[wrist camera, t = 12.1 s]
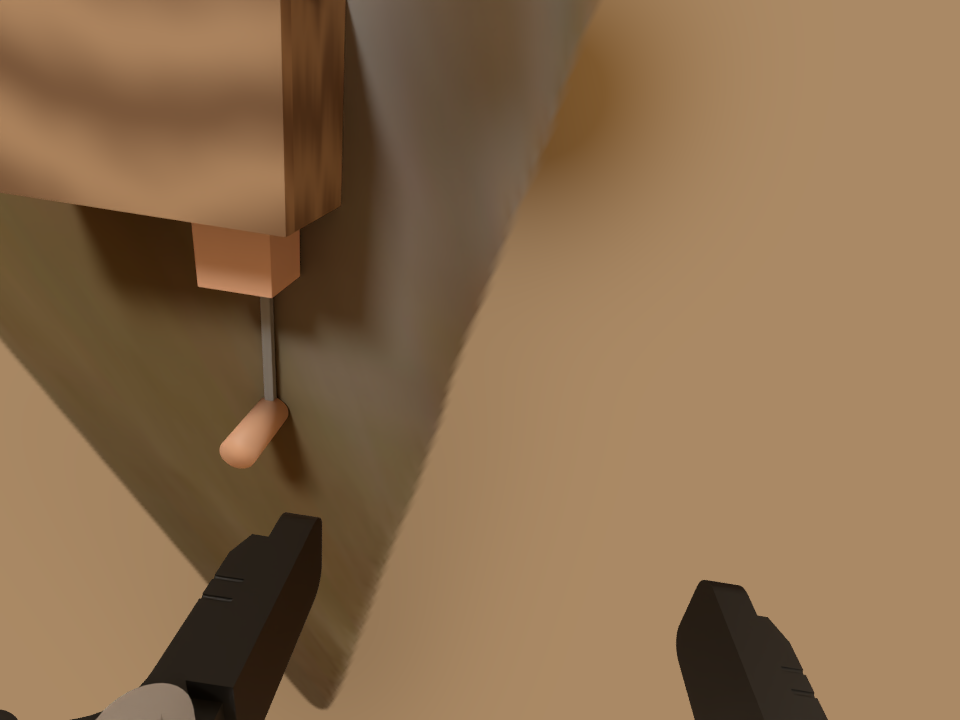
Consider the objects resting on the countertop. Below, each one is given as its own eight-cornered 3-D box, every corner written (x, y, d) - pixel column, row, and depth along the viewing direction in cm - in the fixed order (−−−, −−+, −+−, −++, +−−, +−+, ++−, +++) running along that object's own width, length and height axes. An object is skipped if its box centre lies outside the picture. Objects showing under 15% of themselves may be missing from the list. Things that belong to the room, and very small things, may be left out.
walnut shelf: (11, -57, 31) (-181, -118, 22) (345, -5, 31) (279, -46, 22) (56, 160, 36) (-86, 178, 28) (341, 205, 36) (285, 237, 28)
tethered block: (229, 197, 36) (178, 214, 31) (299, 208, 36) (260, 227, 31) (244, 419, 44) (206, 463, 39) (301, 428, 44) (271, 473, 39)
